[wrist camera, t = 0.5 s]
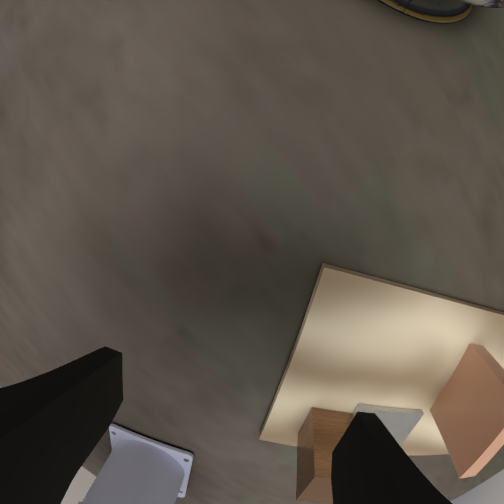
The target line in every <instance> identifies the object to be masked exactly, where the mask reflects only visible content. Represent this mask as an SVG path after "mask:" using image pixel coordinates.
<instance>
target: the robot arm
mask: <svg viewBox="0 0 504 504" xmlns="http://www.w3.org/2000/svg"><path fill="white" fill-rule="evenodd" d="M122 401H123V382H122V353H121V352H118V351H115V350H113V349H110V348H108V347H103V348H100V349H98V350H96V351H94V352H92V353H89V354H87V355H85V356H83V357H81V358H79V359H77V360H74V361H72V362H70V363H68V364H66V365H63V366H61V367H59V368H57V369H54V370H52V371H50V372H47V373H45V374H42V375H39V376H37V377H34V378H31V379H28V380H26V381H23V382H20V383H17V384H14V385H10V386H7V387H3V388H0V504H61V501H62V499H63V497H64V495H65V493H66V491H67V489H68V487H69V485H70V483H71V482H72V480H73V478H74V476H75V475H76V473H77V471H78V470H79V469H80V467H81V466H82V464H83V463H84V461H85V460H86V459H87V457H88V456H89V454H90V453H91V452H92V450H93V449H94V447H95V446H96V444H97V443H98V442H99V440H100V439H101V437H102V436H103V434H104V433H105V432H106V430H107V429H108V427H109V432H110V440H111V447H112V452H111V454H110V455H109V457H108V459H107V460H106V462H105V464H104V465H103V467H102V469H101V470H100V472H99V474H98V476H97V477H96V479H95V481H94V483H93V484H92V486H91V488H90V489H89V491H88V493H87V494H86V496H85V498H84V499H83V501H82V502H79V503H78V504H175V502H176V499H177V496H178V497H185V494H186V490H187V485H188V480H189V476H190V471H191V466H192V462H193V457H194V456H193V454H192V453H190V452H187V451H184V450H181V449H178V448H175V447H172V446H169V445H166V444H163V443H160V442H158V441H155V440H152V439H150V438H147V437H144V436H142V435H139V434H137V433H134V432H132V431H129V430H127V429H124V428H122V427H120V426H117V425H115V424H111V422H112V421H113V419H114V417H115V415H116V413H117V411H118V409H119V407H120V405H121V403H122ZM110 424H111V425H110ZM331 485H332V496H333V504H452V503H451V502H450V501H449V500H448V499H446V498H445V497H444V496H443V495H442V494H441V493H440V492H439V491H438V490H437V489H436V488H435V487H434V486H433V485H432V484H431V483H430V481H429V480H428V479H427V478H426V477H425V476H424V475H423V474H422V473H421V471H420V470H419V469H418V468H417V467H416V465H415V464H414V463H413V462H412V460H411V459H410V458H409V457H408V455H407V454H406V453H405V452H404V450H403V449H402V448H401V446H400V445H399V444H398V442H397V441H396V440H395V438H394V437H393V436H392V434H391V433H390V432H389V430H388V429H387V428H386V426H385V425H384V424H383V422H382V421H381V420H380V419H379V417H378V416H377V415H376V414H375V413H368V412H359V411H357V413H356V415H355V416H354V418H353V420H352V421H351V423H350V425H349V426H348V428H347V430H346V431H345V433H344V434H343V436H342V438H341V439H340V441H339V442H338V444H337V445H336V447H335V448H334V450H333V451H332V466H331Z"/></svg>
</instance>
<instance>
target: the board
mask: <svg viewBox="0 0 504 504" xmlns="http://www.w3.org/2000/svg"><path fill="white" fill-rule="evenodd" d="M469 343H470V344H476V345H481V346H484V347H485V348H486V350H487V351H488V352H489V353H490V354H491V355H492V356H493V357H494V358H495V360H496V361H497V362H498V363H499V364H500V365H501V367H502V368H503V369H504V312H501V311H498V310H494V309H490V308H487V307H483V306H480V305H476V304H473V303H469V302H465V301H462V300H458V299H455V298H451V297H447V296H444V295H440V294H436V293H433V292H429V291H425V290H422V289H418V288H414V287H411V286H407V285H403V284H400V283H396V282H392V281H389V280H385V279H381V278H378V277H374V276H370V275H367V274H363V273H359V272H355V271H352V270H348V269H344V268H341V267H337V266H333V265H329V264H326V263H322V266H321V269H320V272H319V275H318V278H317V281H316V284H315V287H314V290H313V293H312V296H311V299H310V302H309V305H308V308H307V311H306V314H305V317H304V320H303V323H302V326H301V328H300V331H299V334H298V337H297V339H296V342H295V345H294V348H293V350H292V353H291V356H290V358H289V361H288V364H287V366H286V369H285V372H284V374H283V377H282V379H281V382H280V385H279V387H278V390H277V392H276V395H275V397H274V400H273V402H272V405H271V407H270V409H269V412H268V414H267V417H266V419H265V421H264V424H263V426H262V428H261V431H260V436H259V439H260V440H265V441H270V442H275V443H280V444H286V445H291V446H297V443H298V432H299V430H300V428H301V427H302V425H303V423H304V421H305V419H306V417H307V415H308V413H309V411H310V409H311V407H316V408H322V409H328V410H335V411H342V412H349V413H352V412H353V411H354V409H355V407H356V406H357V404H358V403H362V404H370V405H378V406H387V407H396V408H407V409H421V410H422V411H423V413H424V415H423V416H422V417H421V419H420V420H419V422H418V423H417V424H416V426H415V427H414V428H413V430H412V431H411V432H410V434H409V435H408V436H407V438H406V439H405V440H404V442H403V443H402V444H401V445H400V446H401V448H402V449H403V450H404V452H405V453H406V454H407V455H439V454H449V452H448V450H447V448H446V445H445V443H444V441H443V438H442V436H441V434H440V432H439V429H438V427H437V425H436V423H435V421H434V419H433V416H432V414H431V412H430V409H431V407H432V406H433V404H434V403H435V401H436V400H437V398H438V397H439V395H440V394H441V392H442V390H443V389H444V387H445V386H446V384H447V382H448V381H449V379H450V377H451V376H452V374H453V372H454V371H455V369H456V367H457V365H458V364H459V362H460V360H461V358H462V356H463V355H464V353H465V351H466V349H467V347H468V345H469Z"/></svg>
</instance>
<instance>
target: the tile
mask: <svg viewBox="0 0 504 504" xmlns="http://www.w3.org/2000/svg"><path fill="white" fill-rule="evenodd" d="M430 412H431V414H432V416H433V419H434V421H435V423H436V425H437V427H438V429H439V432H440V434H441V436H442V438H443V441H444V443H445V445H446V448H447V450H448V452H449V455H450V457H451V459H452V462H453V464H454V467H455V469H456V472H457V474H458V477H459V478H466V477H471V476H475V475H476V474H477V473H478V472H479V471H480V470H481V469H482V468H483V467H484V466H485V465H486V464H487V463H488V461H489V460H490V459H491V458H492V457H493V456H494V455H495V454H496V453H497V451H498V450H499V449H500V448H501V447H502V446H503V444H504V369H503V368H502V367H501V365H500V364H499V363H498V362H497V361H496V360H495V358H494V357H493V356H492V355H491V354H490V353H489V352H488V351H487V350H486V348H485V347H484V346H481V345H476V344H470V343H469V345H468V347H467V349H466V351H465V353H464V355H463V356H462V358H461V360H460V362H459V364H458V365H457V367H456V369H455V371H454V372H453V374H452V376H451V377H450V379H449V381H448V382H447V384H446V386H445V387H444V389H443V390H442V392H441V394H440V395H439V397H438V398H437V400H436V401H435V403H434V404H433V406H432V407H431V409H430Z"/></svg>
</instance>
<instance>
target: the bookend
mask: <svg viewBox="0 0 504 504" xmlns="http://www.w3.org/2000/svg"><path fill="white" fill-rule="evenodd" d="M357 411H359V412H368V413H375V414H376V415H377V416H378V417H379V419H380V420H381V421H382V422H383V424H384V425H385V426H386V428H387V429H388V430H389V432H390V433H391V434H392V436H393V437H394V438H395V440H396V441H397V442H398V444H399V445H401V444H402V443H403V442H404V440H405V439H406V438H407V436H408V435H409V434H410V432H411V431H412V430H413V428H414V427H415V426H416V424H417V423H418V422H419V420H420V419H421V417H422V416H423V415H424V413H423V411H422V410H421V409H407V408H396V407H387V406H378V405H370V404H362V403H358V404H357V406H356V407H355V409H354V411H353V412H352V413H349V412H342V411H335V410H328V409H322V408H316V407H311V409H310V411H309V413H308V415H307V417H306V419H305V421H304V423H303V425H302V427H301V428H300V430H299V432H298V443H297V490H296V500H299V501H310V502H323V503H333V496H332V485H331V466H332V451H333V450H334V448H335V447H336V445H337V444H338V442H339V441H340V439H341V438H342V436H343V434H344V433H345V431H346V430H347V428H348V426H349V425H350V423H351V421H352V420H353V418H354V416H355V415H356V413H357Z"/></svg>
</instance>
